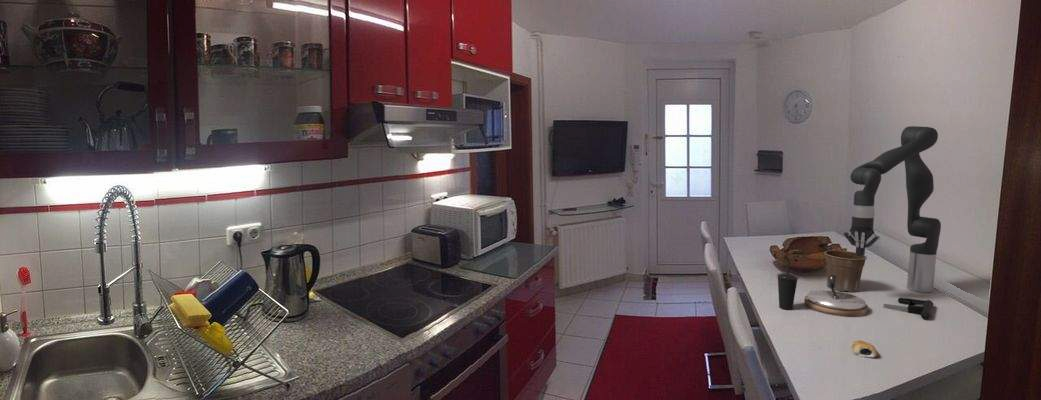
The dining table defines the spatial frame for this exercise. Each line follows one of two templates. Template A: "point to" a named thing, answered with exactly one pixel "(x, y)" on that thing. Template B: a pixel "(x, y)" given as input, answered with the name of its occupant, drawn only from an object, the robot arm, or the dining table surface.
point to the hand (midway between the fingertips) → (860, 255)
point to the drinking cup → (786, 289)
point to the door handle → (914, 307)
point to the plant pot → (845, 269)
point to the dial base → (836, 310)
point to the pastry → (864, 349)
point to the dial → (835, 298)
